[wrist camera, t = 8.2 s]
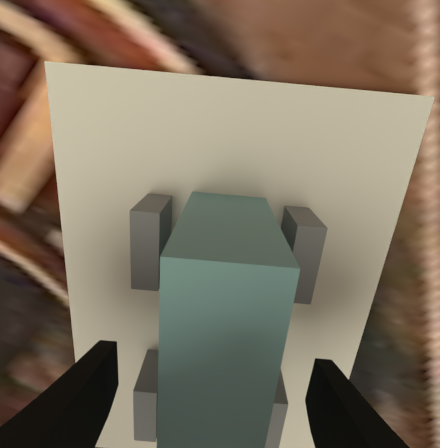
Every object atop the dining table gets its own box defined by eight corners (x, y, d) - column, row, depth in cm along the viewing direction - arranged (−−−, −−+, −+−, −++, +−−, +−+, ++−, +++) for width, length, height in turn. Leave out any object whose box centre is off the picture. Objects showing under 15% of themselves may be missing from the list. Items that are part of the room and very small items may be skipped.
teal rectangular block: (180, 407, 16) (154, 565, 10) (191, 191, 12) (160, 256, 6) (235, 411, 16) (239, 572, 10) (265, 198, 12) (300, 268, 6)
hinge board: (92, 425, 18) (62, 495, 15) (62, 66, 12) (-6, 44, 8) (316, 444, 18) (336, 518, 15) (414, 99, 12) (492, 90, 8)
